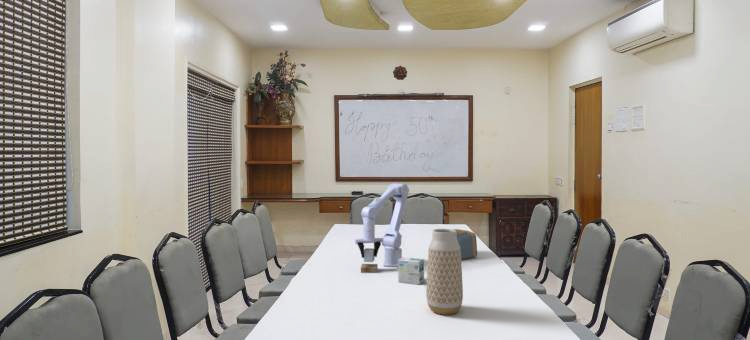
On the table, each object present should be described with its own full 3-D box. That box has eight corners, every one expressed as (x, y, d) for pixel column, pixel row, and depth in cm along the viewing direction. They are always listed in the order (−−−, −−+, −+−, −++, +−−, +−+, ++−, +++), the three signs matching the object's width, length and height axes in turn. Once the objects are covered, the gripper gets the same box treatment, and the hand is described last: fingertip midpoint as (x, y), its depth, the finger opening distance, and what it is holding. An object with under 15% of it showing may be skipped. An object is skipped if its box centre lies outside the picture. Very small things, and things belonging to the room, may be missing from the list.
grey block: (374, 260, 235) (374, 248, 235) (372, 262, 231) (372, 250, 230) (365, 259, 236) (365, 248, 236) (363, 261, 231) (363, 250, 231)
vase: (438, 319, 166) (438, 235, 164) (419, 307, 178) (419, 229, 177) (470, 313, 171) (470, 232, 170) (449, 302, 184) (450, 226, 182)
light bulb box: (424, 281, 214) (424, 258, 214) (419, 285, 208) (419, 261, 208) (403, 278, 219) (403, 256, 218) (397, 282, 213) (397, 259, 212)
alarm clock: (478, 257, 261) (478, 230, 261) (458, 261, 252) (458, 233, 252) (458, 252, 275) (458, 226, 274) (438, 256, 266) (438, 229, 265)
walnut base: (377, 269, 237) (377, 263, 237) (376, 273, 229) (376, 267, 229) (362, 269, 238) (362, 263, 238) (360, 273, 230) (360, 267, 230)
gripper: (380, 228, 239) (380, 254, 239) (353, 230, 235) (353, 256, 235) (384, 230, 232) (384, 257, 232) (356, 232, 228) (356, 259, 228)
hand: (369, 257), depth 233 cm, fingers closed on grey block, 6 cm apart
